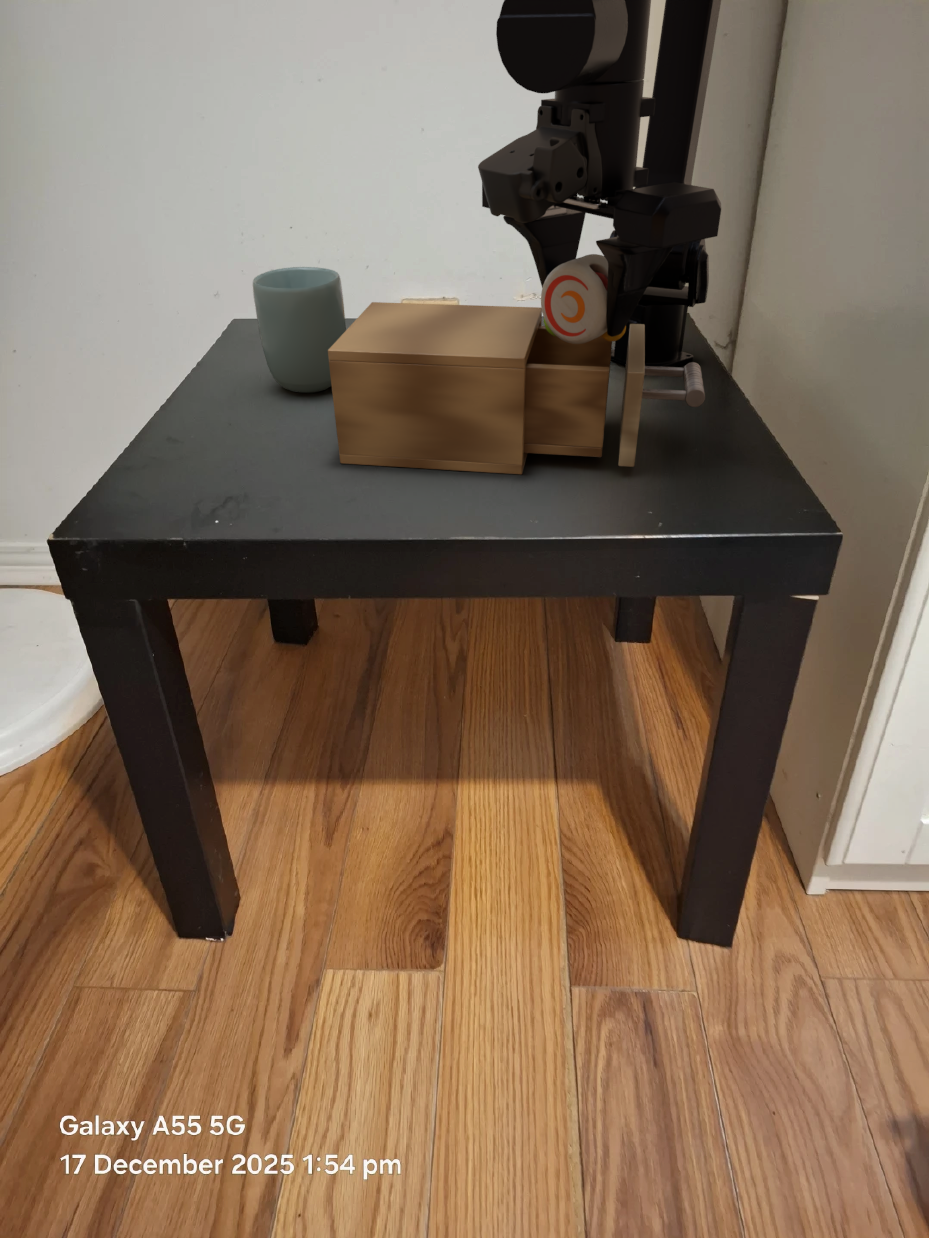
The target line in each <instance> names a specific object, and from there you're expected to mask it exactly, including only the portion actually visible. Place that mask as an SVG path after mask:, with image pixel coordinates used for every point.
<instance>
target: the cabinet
mask: <svg viewBox="0 0 929 1238" xmlns="http://www.w3.org/2000/svg"><path fill="white" fill-rule="evenodd" d="M542 317H543V313H542V308H541V306H540V307H539V306H535V307H534V306H507V305H505V306H504V305H472V304H445V303H444V304H440V303H413V302H412V303H411V302H409V303H408V302H381V301H379V302H377V301H372V302H370V304H369V305H368V306H367V307H366V308H365V309H364V310H363V311H362V312H361V314H360V315H358V316H357V318H356V319H355V320H354V321H353V322H352V323H351V324H350V325H349V326H348V328H346V331H345V332H344V333H343V334H342V335H341V336H340V338H339V339H338V340H337V341H336V342H335V343H334V344H333V345H332V346H331V347H330V348H329V350H328V357H329V367H330V376H331V385H332V386H331V392H332V401H333V409H334V419H335V428H336V435H337V436H336V437H337V445H338V455H339V463H340V464H343V465H344V464H347V465H363V466H379V467H394V468H395V467H397V468H411V469H424V470H425V469H429V470H441V471H443V470H444V471H460V472H474V473H490V474H491V473H492V474H493V473H494V474H507V475H523V472H524V469H525V465H526V461H527V457H528V453H524V417H525V379H526V366H525V365H526V362H527V359H528V356H529V353H530V350H531V347H532V344H533V341H534V338H535V335H536V332H537V329H538V326H543V318H542Z"/></svg>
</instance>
